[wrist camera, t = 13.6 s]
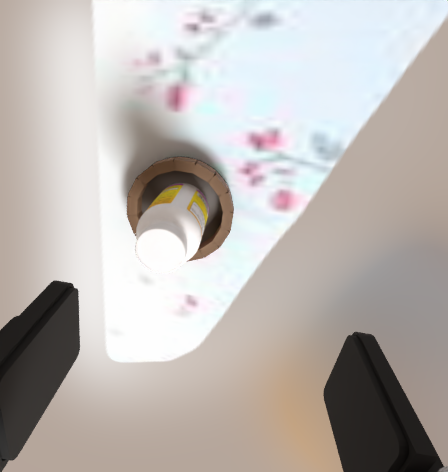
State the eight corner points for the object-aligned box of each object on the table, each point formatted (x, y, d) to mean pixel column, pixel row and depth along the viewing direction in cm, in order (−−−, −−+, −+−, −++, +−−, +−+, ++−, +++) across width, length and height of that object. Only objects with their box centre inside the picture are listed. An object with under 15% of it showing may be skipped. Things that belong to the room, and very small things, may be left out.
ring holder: (135, 149, 39) (128, 152, 36) (240, 165, 39) (240, 169, 37) (132, 244, 44) (126, 252, 42) (225, 258, 44) (224, 267, 42)
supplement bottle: (151, 217, 42) (114, 265, 30) (169, 172, 39) (136, 204, 27) (197, 238, 42) (179, 292, 31) (218, 195, 40) (207, 236, 28)
